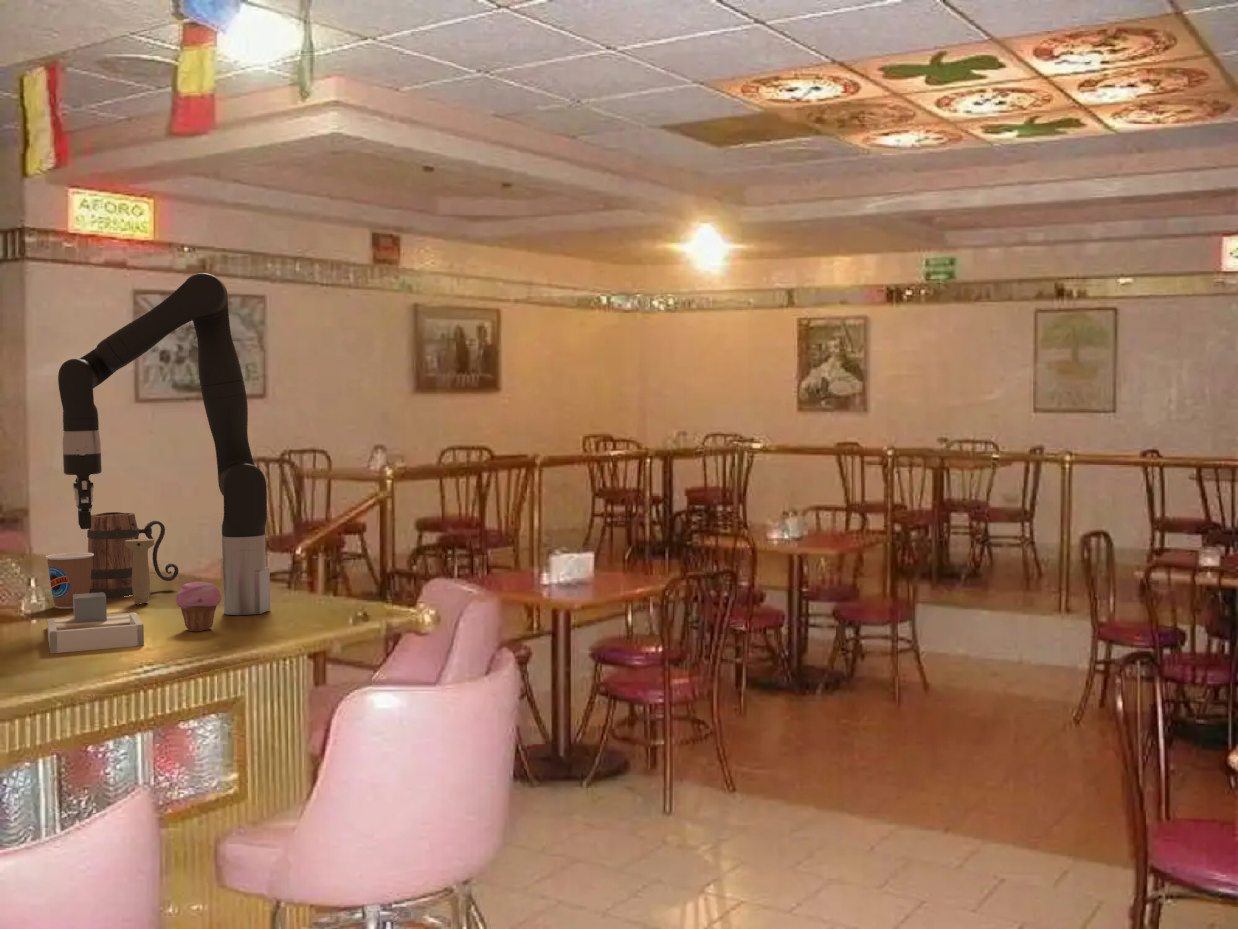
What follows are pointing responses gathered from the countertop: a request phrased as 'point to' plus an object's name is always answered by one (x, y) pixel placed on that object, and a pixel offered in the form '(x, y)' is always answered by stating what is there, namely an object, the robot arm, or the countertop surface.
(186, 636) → the countertop surface
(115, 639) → the box
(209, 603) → the cupcake
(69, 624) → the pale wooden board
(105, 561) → the tankard
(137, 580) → the handle
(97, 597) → the matte grey cube
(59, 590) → the coffee cup
